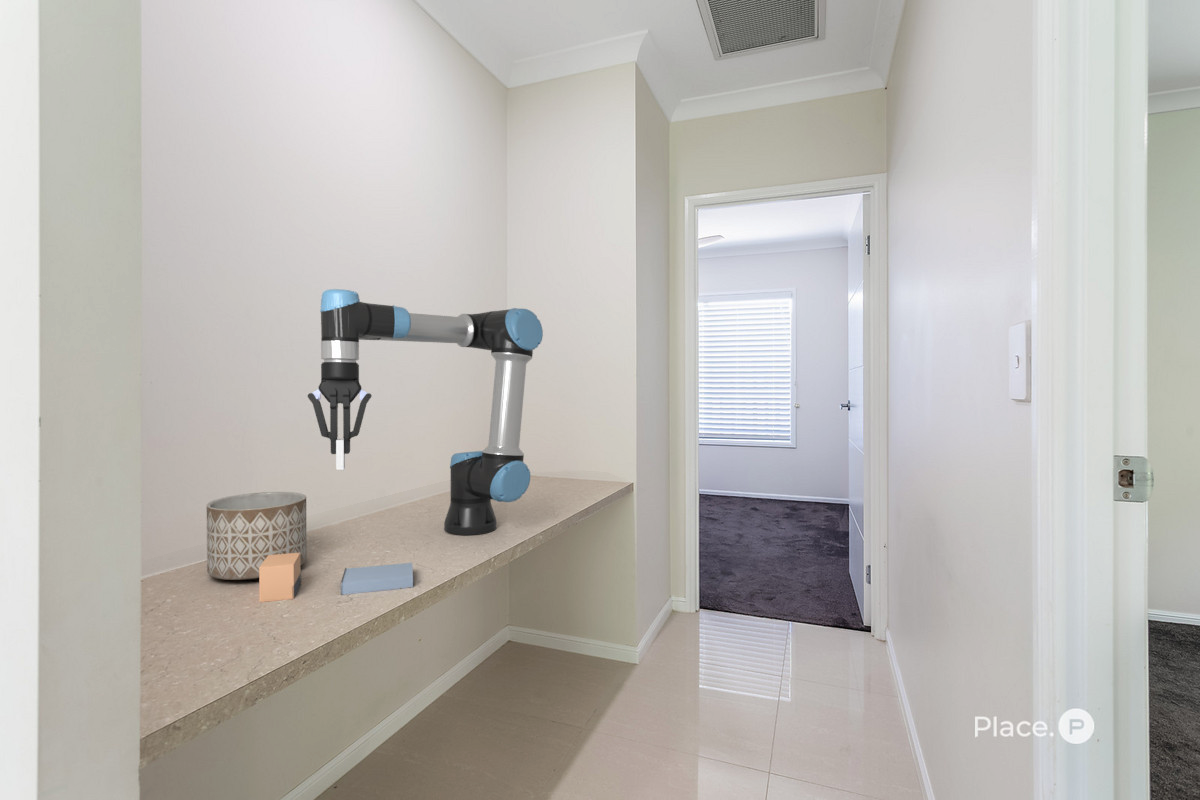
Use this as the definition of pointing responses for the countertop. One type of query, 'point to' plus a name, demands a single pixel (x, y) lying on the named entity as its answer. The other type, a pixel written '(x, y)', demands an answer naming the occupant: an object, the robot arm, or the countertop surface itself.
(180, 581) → the countertop surface
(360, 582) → the blue-grey slab
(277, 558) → the block
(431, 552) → the countertop surface
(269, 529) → the planter
